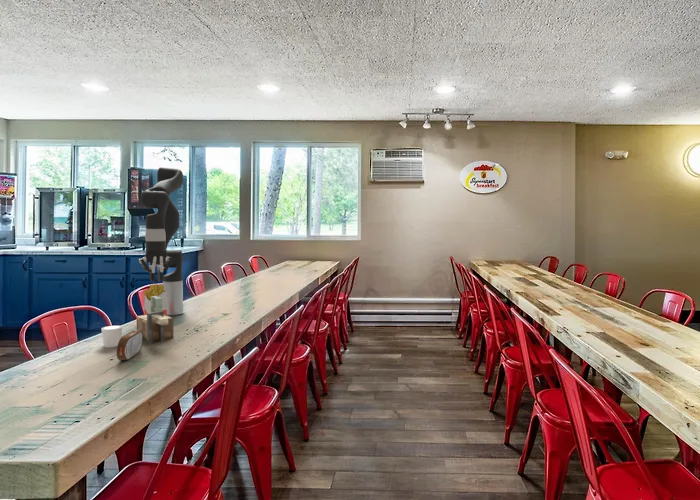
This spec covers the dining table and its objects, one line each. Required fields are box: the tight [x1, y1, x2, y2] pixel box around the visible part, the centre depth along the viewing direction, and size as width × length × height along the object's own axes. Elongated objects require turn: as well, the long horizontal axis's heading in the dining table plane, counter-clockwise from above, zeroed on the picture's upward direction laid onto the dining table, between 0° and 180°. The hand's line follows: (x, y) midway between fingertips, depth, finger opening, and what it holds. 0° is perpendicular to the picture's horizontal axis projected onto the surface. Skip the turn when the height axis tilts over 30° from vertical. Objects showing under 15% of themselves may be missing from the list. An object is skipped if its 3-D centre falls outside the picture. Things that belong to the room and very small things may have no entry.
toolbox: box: [136, 311, 174, 345], centre depth 164 cm, size 16×10×12 cm, turn 48°
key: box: [152, 314, 168, 325], centre depth 155 cm, size 10×2×2 cm, turn 48°
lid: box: [136, 296, 172, 323], centre depth 165 cm, size 12×9×9 cm
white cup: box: [100, 324, 123, 348], centre depth 153 cm, size 7×7×7 cm
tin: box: [116, 330, 144, 361], centre depth 141 cm, size 15×3×8 cm, turn 5°
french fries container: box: [143, 283, 168, 316], centre depth 188 cm, size 5×11×18 cm, turn 60°
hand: (156, 281), depth 166 cm, fingers closed
